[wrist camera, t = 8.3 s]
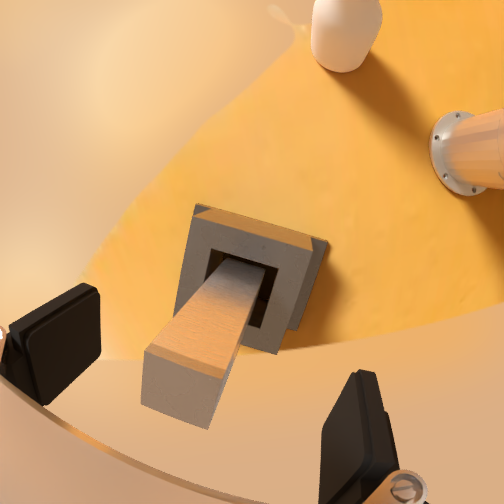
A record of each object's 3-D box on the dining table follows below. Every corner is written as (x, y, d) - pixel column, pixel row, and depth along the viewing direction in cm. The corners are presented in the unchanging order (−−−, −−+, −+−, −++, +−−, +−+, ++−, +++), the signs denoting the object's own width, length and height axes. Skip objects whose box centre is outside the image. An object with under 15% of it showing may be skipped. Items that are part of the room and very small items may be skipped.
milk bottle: (367, 75, 35) (410, 9, 16) (312, 73, 36) (318, -1, 17) (361, 30, 33) (392, -49, 14) (308, 27, 35) (309, -58, 15)
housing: (326, 240, 42) (334, 259, 32) (296, 327, 46) (294, 364, 36) (198, 203, 43) (170, 211, 34) (180, 290, 47) (152, 318, 38)
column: (265, 269, 38) (222, 379, 17) (253, 309, 39) (205, 436, 18) (226, 257, 38) (144, 350, 17) (216, 298, 40) (140, 410, 19)
